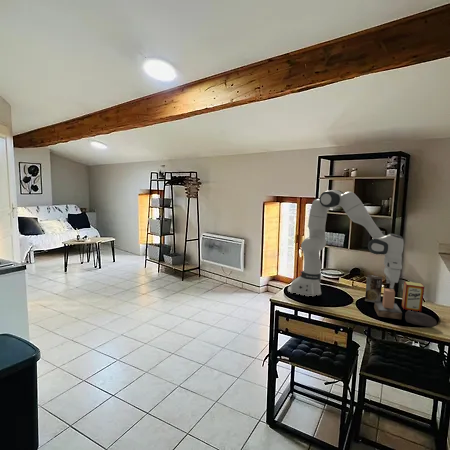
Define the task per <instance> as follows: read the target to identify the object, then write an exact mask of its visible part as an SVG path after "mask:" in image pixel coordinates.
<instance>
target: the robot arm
mask: <svg viewBox="0 0 450 450" xmlns="http://www.w3.org/2000/svg"><path fill="white" fill-rule="evenodd" d="M338 207H341V208H342V209H343V211H344V213H345V214H346V215H347V216H348V218H349V219H350V220H351V221H352V223H355V224H357V225H360V226H362V227H364V228H365V230H366V231H367V233H369V235H370V236H371V237H372V239H371V240H370V241H368V244H367V248H368V251H369V252H370V253H372V254H373V255H384V257H383V259H384V260H383V265H384V269H383V274H384V275H385V280H386V281H385V284H389V289H393V290H394V286H395V284H398V283H399V281H400V275H401V270H402V269H403V264H402V260H403V255H402V254H403V251H404V245H405V244H404V238H403V236H401V235H399V234H395V233H388V234H387V235H386V234H385V233H383V232H382V229H380V227H379V226H378V224H376V222H375V221H374V219H373V218H372V217H371V215H370V213H369V212H368V210H367V208H366V207H365V205H364V203H363V202H362V200H361V199H360V198H359V196H357V195H356V193H354V192H353V191H346V192H344V191H341V190H339V189H337V190H336V189H331V190H330V189H329V190H324V192H322V193H321V194H320V196H319V198H316V199H314V200H313V201H312V203H311V206H310V209H309V215H308V222H307V224H308V225H307V228H308V233H309V234H308V237H306V238H305V239H304V240H303V241H302V242H301V244H300V246H301V250H302V251H303V252H302V253H303V259H304V260H303V269H301V270H300V271H299V273H300V274H299V275H300V276H298V277H296V278H295V279H293V280H292V282H291V285H289V286H288V287H287V292H288V293H289V292H290V293H289V294H293V293H296V294H295V295H299V294H300V296H304V295H305V297H309V296H312V297H315V296H316V295H317V296H321V295H322V289H321V280H322V273H321V271H322V260H321V257H320V251H322V250H323V249H324V248H325V247H326V246H327V240H326V222H327V217H328V211H329V209H335V208H338Z"/></svg>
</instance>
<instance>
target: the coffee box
mask: <svg viewBox="0 0 450 450" xmlns="http://www.w3.org/2000/svg"><path fill="white" fill-rule="evenodd" d="M383 279H384V278H383V276H381V275H372V274H367V276H366V284H365V296H364V301H365V302H370V303H375V301H378V302H382V301H381V300H382V287H383Z"/></svg>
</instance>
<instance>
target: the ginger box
mask: <svg viewBox="0 0 450 450" xmlns="http://www.w3.org/2000/svg"><path fill="white" fill-rule="evenodd" d="M403 282H404V283H403V291H402V300H401V307H402V308H403V309H402V310H404V309H405V311H408V310H412V311H415V312H418V311H419V312H420V313H422V309H423V303H424V302H423V301H424V294H425V293H424V292H425V286H424V284H423V283H420V282H414V281H403Z"/></svg>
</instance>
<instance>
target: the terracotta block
mask: <svg viewBox="0 0 450 450" xmlns="http://www.w3.org/2000/svg"><path fill="white" fill-rule="evenodd" d="M395 296H396V291H395V289H394V288H393V289H392V288H385V287H384V288H383V293H382V301H381V302H382V305H383V307H384V308H391V309H393V308H394V304H395Z"/></svg>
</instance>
